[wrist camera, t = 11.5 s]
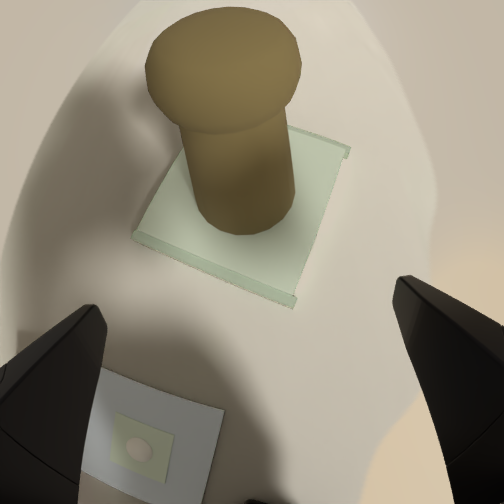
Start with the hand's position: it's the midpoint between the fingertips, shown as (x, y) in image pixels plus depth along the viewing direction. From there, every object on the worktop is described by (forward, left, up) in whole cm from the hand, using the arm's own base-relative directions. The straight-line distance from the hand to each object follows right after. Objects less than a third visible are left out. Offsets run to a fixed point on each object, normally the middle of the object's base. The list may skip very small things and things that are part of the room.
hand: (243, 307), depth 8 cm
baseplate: (+4, -7, -8) cm, 12 cm away
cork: (+4, -7, -8) cm, 11 cm away
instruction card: (+5, +11, -8) cm, 15 cm away
